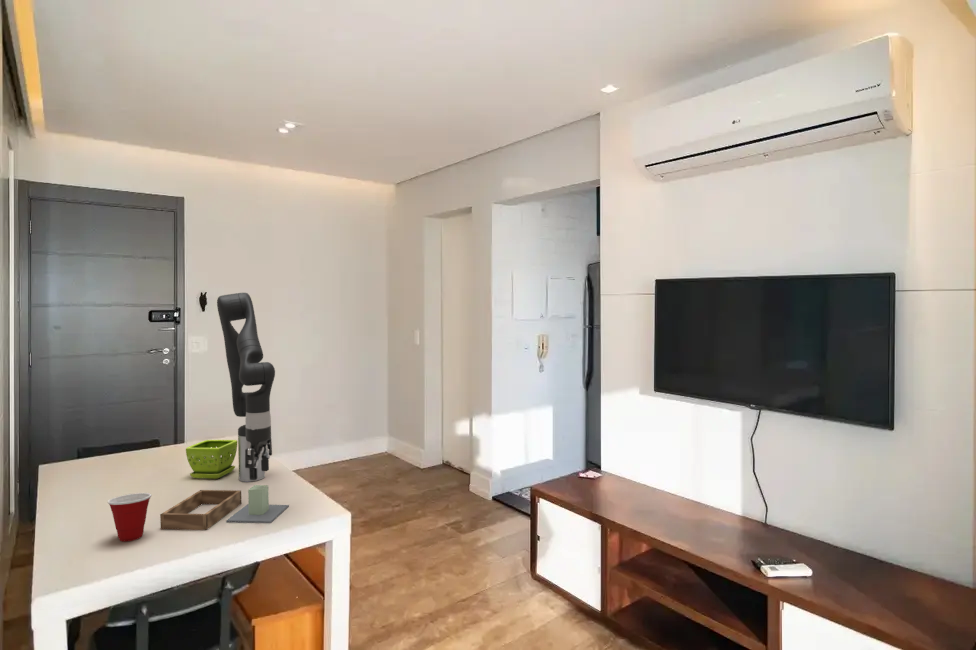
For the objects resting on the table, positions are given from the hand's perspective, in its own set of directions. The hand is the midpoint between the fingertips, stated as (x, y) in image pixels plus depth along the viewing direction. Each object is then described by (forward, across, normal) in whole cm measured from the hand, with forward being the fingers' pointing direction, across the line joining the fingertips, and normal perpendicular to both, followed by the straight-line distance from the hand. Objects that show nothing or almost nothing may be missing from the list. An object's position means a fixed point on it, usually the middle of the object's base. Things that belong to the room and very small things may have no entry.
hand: (259, 475), depth 181 cm
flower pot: (+14, -39, -36) cm, 55 cm away
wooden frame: (+13, +2, -17) cm, 22 cm away
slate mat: (+13, +1, 0) cm, 13 cm away
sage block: (+12, 0, 0) cm, 12 cm away
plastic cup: (+12, +19, -29) cm, 37 cm away
